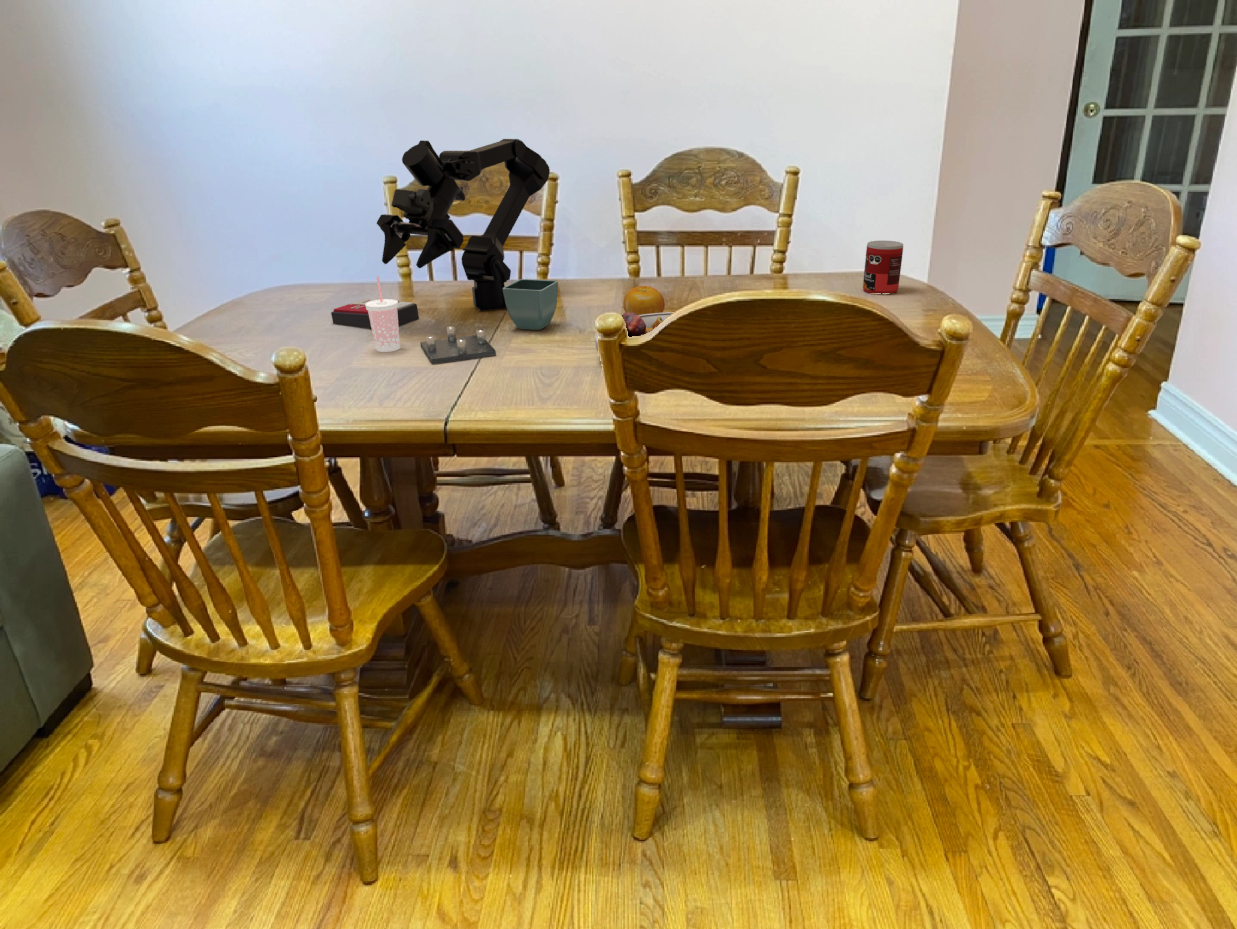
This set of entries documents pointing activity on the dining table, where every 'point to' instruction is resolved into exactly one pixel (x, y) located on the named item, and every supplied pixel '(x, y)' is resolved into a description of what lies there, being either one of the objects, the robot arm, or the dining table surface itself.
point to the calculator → (359, 315)
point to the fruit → (644, 301)
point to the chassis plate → (457, 347)
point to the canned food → (882, 266)
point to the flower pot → (531, 302)
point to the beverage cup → (384, 322)
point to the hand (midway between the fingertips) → (400, 264)
